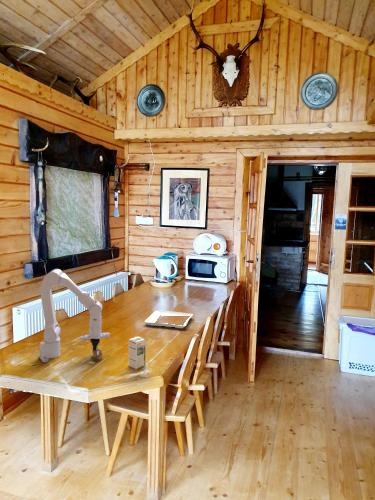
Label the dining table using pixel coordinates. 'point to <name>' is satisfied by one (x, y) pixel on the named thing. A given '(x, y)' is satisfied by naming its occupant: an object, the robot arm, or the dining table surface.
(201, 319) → the dining table surface
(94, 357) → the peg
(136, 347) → the syrup box
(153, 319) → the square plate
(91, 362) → the pale green tile
